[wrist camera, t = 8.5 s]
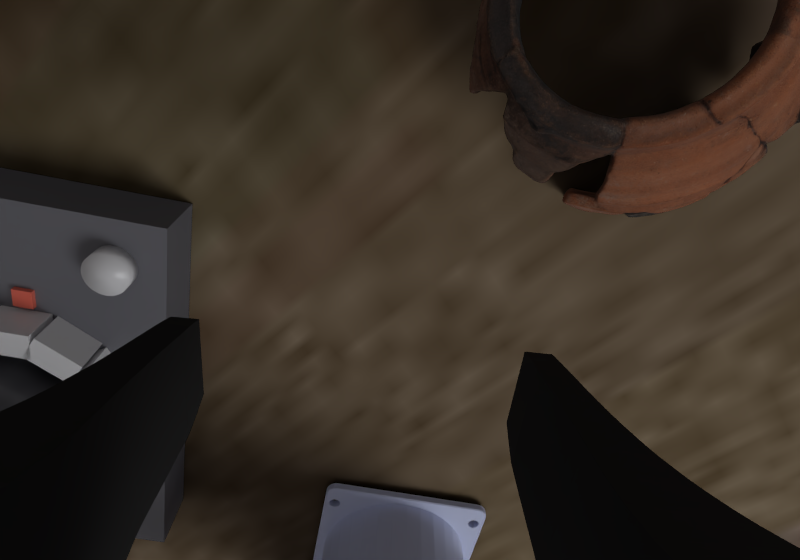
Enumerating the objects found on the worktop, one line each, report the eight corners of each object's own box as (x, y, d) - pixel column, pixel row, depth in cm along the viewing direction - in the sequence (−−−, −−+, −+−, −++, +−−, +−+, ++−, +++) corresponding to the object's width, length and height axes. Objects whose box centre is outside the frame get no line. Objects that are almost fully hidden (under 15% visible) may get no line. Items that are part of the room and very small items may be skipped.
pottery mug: (487, 224, 22) (444, 194, 14) (499, -21, 22) (464, -188, 14) (849, 232, 19) (1058, 201, 11) (867, -55, 19) (1095, -301, 11)
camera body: (183, 498, 29) (151, 571, 25) (-23, 468, 28) (-87, 539, 24) (192, 203, 21) (149, 247, 18) (-87, 151, 20) (-191, 185, 17)
